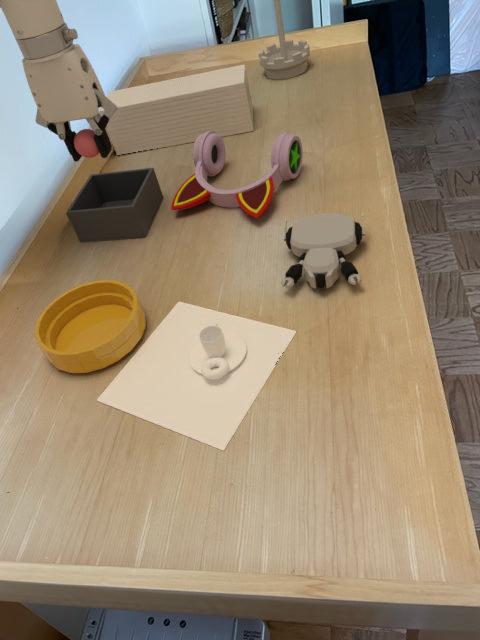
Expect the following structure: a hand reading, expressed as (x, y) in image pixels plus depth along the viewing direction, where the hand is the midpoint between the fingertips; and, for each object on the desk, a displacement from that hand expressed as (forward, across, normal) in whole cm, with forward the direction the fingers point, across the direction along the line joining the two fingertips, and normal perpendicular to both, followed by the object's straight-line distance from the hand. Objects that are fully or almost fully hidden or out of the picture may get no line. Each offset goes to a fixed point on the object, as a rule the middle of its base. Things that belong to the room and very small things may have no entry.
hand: (92, 154), depth 91 cm
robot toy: (+15, -38, +15) cm, 44 cm away
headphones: (+15, -21, -8) cm, 27 cm away
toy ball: (-2, 0, 0) cm, 2 cm away
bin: (+15, +1, -2) cm, 15 cm away
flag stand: (+15, -25, -66) cm, 72 cm away
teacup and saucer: (+15, -23, +35) cm, 44 cm away
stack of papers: (+15, -4, -36) cm, 39 cm away
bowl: (+15, -6, +29) cm, 33 cm away
